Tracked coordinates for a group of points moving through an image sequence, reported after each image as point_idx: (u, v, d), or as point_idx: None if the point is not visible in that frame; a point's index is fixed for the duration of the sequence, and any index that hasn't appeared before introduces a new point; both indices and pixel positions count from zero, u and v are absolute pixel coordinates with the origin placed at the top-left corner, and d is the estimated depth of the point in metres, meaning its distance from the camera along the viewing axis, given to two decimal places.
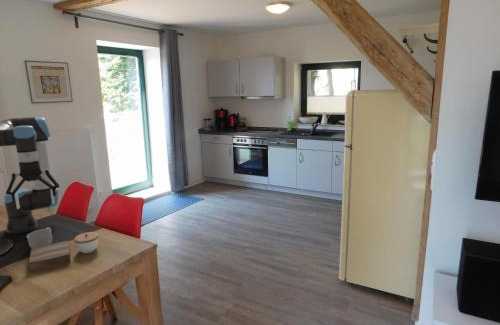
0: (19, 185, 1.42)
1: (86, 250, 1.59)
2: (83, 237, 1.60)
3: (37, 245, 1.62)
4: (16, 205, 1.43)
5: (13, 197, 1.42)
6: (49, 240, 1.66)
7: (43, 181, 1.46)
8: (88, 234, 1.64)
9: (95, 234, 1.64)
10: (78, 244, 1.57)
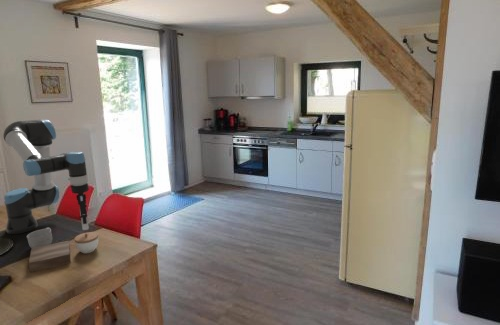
0: None
1: (86, 250, 1.59)
2: (83, 237, 1.60)
3: (37, 245, 1.62)
4: None
5: None
6: (49, 240, 1.66)
7: None
8: (88, 234, 1.64)
9: (95, 234, 1.64)
10: (78, 244, 1.57)
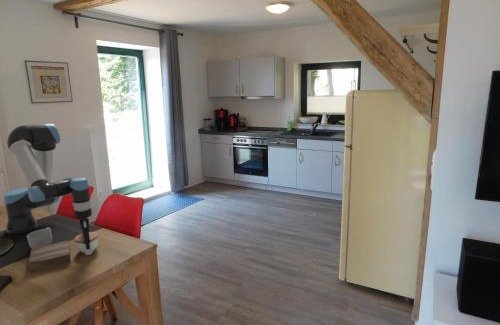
0: None
1: None
2: (83, 237, 1.60)
3: (37, 245, 1.62)
4: None
5: None
6: (49, 240, 1.66)
7: None
8: None
9: (95, 234, 1.64)
10: (78, 244, 1.57)
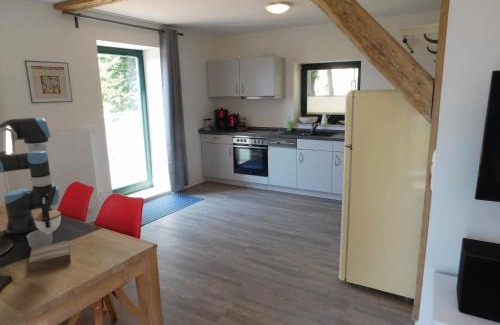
0: None
1: None
2: None
3: (37, 245, 1.62)
4: None
5: None
6: (49, 240, 1.66)
7: None
8: (49, 212, 1.53)
9: (57, 212, 1.52)
10: (37, 222, 1.46)
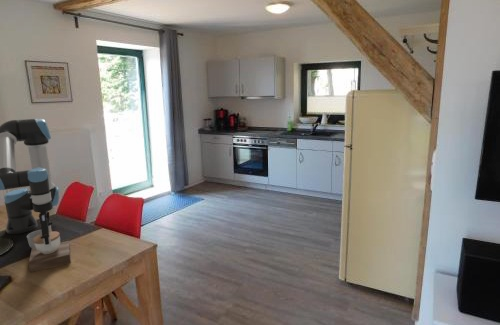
0: None
1: (46, 251, 1.49)
2: None
3: None
4: None
5: None
6: None
7: None
8: (49, 233, 1.54)
9: (56, 233, 1.54)
10: (37, 245, 1.47)
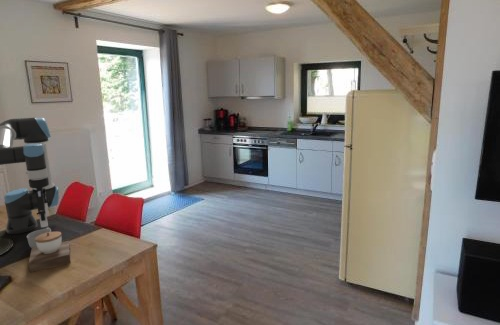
0: None
1: (48, 250, 1.49)
2: (45, 236, 1.51)
3: None
4: None
5: None
6: None
7: None
8: (50, 233, 1.55)
9: (58, 233, 1.55)
10: (39, 244, 1.48)
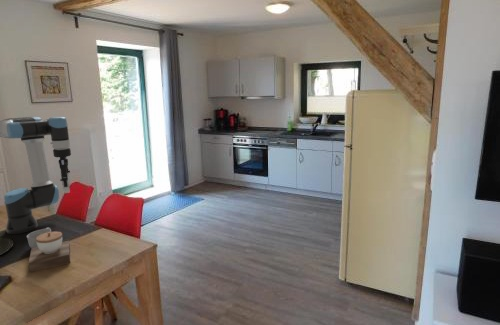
0: None
1: (50, 250, 1.50)
2: (46, 236, 1.51)
3: None
4: None
5: None
6: None
7: None
8: (50, 233, 1.54)
9: (59, 233, 1.55)
10: (41, 244, 1.48)
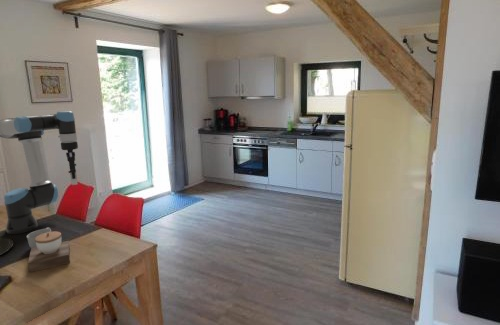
0: None
1: (50, 250, 1.50)
2: (45, 237, 1.51)
3: None
4: None
5: None
6: None
7: None
8: (49, 233, 1.54)
9: (57, 233, 1.55)
10: (41, 244, 1.48)
